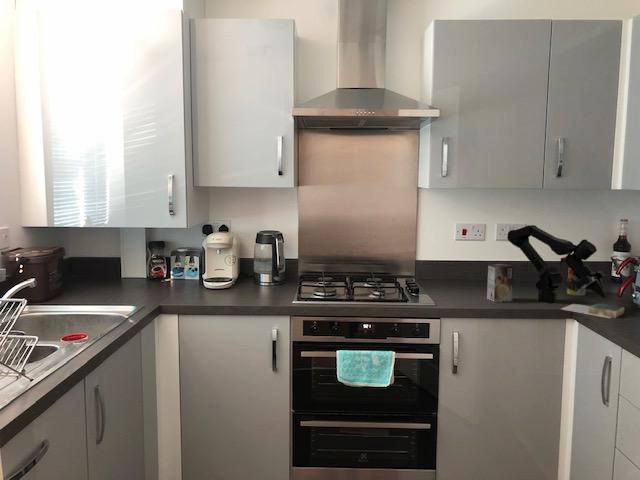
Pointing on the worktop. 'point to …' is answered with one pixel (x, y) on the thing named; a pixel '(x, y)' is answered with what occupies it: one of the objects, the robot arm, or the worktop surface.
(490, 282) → the coffee box
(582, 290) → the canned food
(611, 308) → the plaque
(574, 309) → the mat
